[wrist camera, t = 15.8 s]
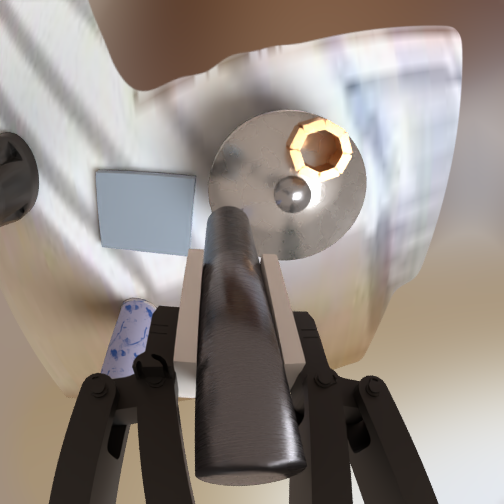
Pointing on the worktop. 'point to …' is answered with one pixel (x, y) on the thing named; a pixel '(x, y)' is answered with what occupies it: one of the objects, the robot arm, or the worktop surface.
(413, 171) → the worktop surface
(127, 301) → the aerosol can
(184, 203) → the plate
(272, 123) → the disc
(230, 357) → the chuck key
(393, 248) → the worktop surface
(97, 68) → the worktop surface
